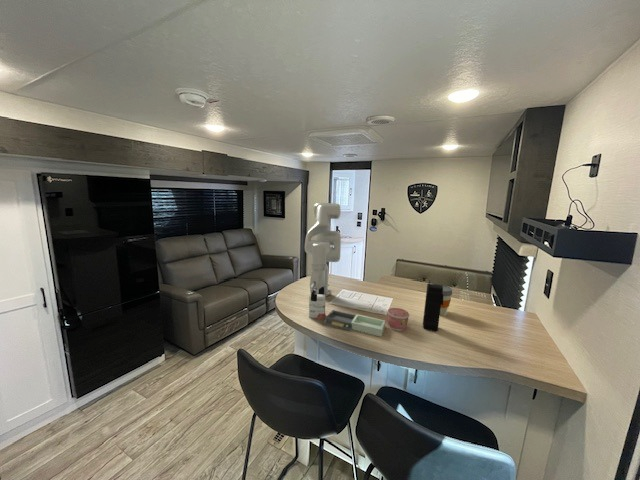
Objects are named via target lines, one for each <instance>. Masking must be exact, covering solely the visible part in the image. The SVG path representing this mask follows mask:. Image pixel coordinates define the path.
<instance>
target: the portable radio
mask: <svg viewBox="0 0 640 480" xmlns="http://www.w3.org/2000/svg"><path fill="white" fill-rule="evenodd" d="M434 284H435V283H431V280H429V283H427V285H426V294H425V301H424V310H423V319H422V328H423V330H425V329H426V331H431V330H432V332H436V331H437V332H438V330H439V325H440V324H439V323H440V322H439V321H440V316H441V315H440V309H441V305H442V306H443V286H442V285H443V284H442V285H434Z"/></svg>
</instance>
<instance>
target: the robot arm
mask: <svg viewBox="0 0 640 480" xmlns="http://www.w3.org/2000/svg"><path fill="white" fill-rule="evenodd" d="M341 212H342V211H341V205H340V203H334V202H331V203H329V202H318V203H315V204H314V205H313V215H314V218H315V220H314V225H313V226H311V228H310V229H309V230H308V231H307V233H306V235H305V240H304V252H305V253H306V254H309V255H311V271H310V279H309V281H310V282H309V289H310V290H309V291H310V294H311V301H315V302H316V301H317V294H323V295H326V297H328V296H330V295H331V291H330V290H329V288H328V287H330V285H329V272H330V270H329V268H330V267H329V266H328V264H327V263H337V262H339V261H340V260H341V250H342V249H341V245H342V243H341V242H342V241H341V240H342V238H341V235H342V234H341V233H340V231H337V230H331V228H330V227H331V223H330V220H331V219H332V220H339V219H340V217H341ZM315 236H316V240H312V238H314V237H315Z"/></svg>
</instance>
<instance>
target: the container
mask: <svg viewBox="0 0 640 480" xmlns="http://www.w3.org/2000/svg"><path fill="white" fill-rule="evenodd" d="M386 312H387V324H388V326H389V328H390V329H391V330H394V331H396V330H397V332H402V331H404V330H405V329H406V328H407V326H408V325H409V324H408V323H409V317H410V313H409V311H408V310H406V309H403V308H399V307H391V308H389V309H387V311H386Z"/></svg>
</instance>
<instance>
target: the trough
mask: <svg viewBox="0 0 640 480" xmlns="http://www.w3.org/2000/svg"><path fill="white" fill-rule="evenodd" d="M355 315H356V316H355V317H354V319H353V320H352V322H351V324H352V330H354V331H356V330H357V332H360V331H361V333H364V332H365V334H370V335H374V336H377V337H382V336H383V334H382V333H384V331H385V328H386V320H384V319H379V318H376V317H371V316H367V315H362V314H355ZM352 330H351V331H352Z"/></svg>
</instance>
